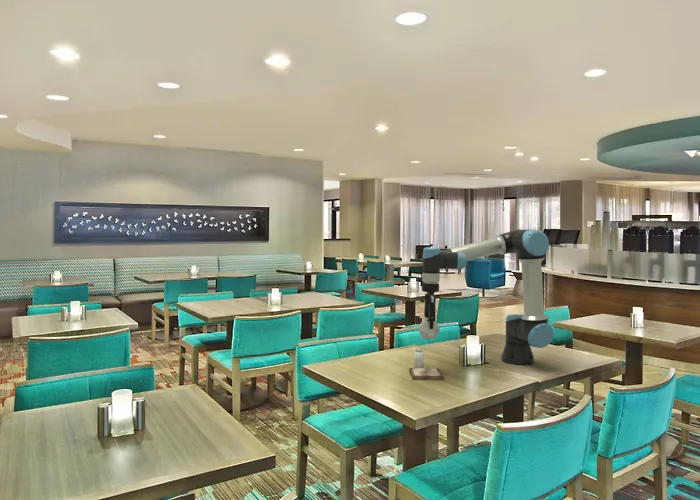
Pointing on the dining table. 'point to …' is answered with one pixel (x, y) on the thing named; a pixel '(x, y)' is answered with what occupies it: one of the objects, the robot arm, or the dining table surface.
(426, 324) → the die
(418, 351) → the shaker
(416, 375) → the board
